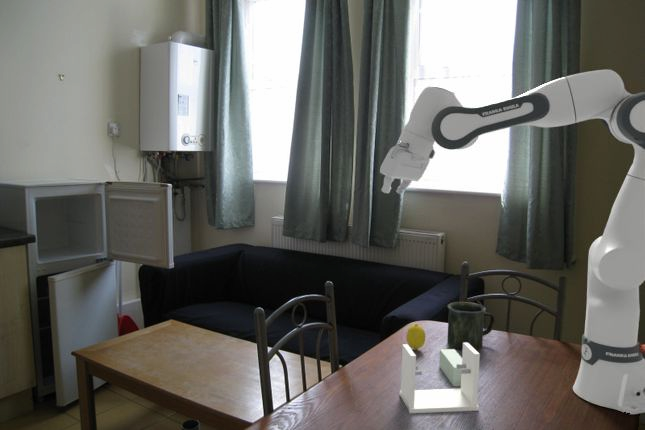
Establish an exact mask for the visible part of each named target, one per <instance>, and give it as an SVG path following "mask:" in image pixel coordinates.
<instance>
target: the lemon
mask: <svg viewBox="0 0 645 430" xmlns="http://www.w3.org/2000/svg"><path fill="white" fill-rule="evenodd" d="M406 342H407V343H406V344H408V345H409V347H410V348H411V349H412V350H414V351H417V350H419V349H420V348H422V347H423V346H424V345H425V342H426V332H425V330H424V328H423V327H422V326H421V325H419V324H418V323H415V324H413V325H410V326H409V327H408V329H407V332H406Z"/></svg>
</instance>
